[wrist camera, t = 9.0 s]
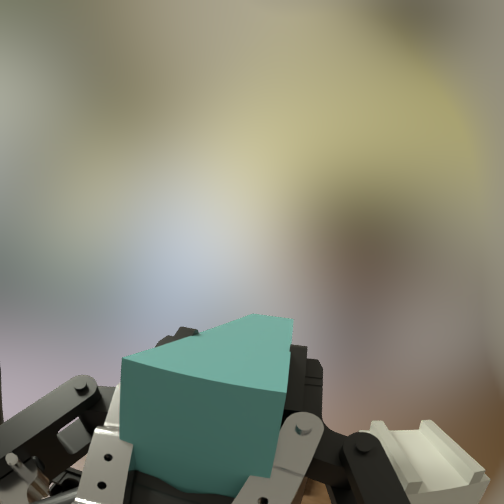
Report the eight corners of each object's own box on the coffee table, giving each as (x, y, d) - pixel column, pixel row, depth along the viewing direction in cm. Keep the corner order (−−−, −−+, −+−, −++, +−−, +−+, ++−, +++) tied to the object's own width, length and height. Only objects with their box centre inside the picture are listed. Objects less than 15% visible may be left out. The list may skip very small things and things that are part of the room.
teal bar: (260, 520, 6) (286, 392, 6) (120, 482, 6) (121, 358, 7) (287, 358, 29) (293, 319, 30) (247, 353, 30) (252, 313, 30)
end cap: (110, 498, 38) (107, 473, 39) (99, 519, 31) (95, 493, 32) (62, 482, 38) (58, 456, 38) (48, 500, 31) (42, 474, 31)
